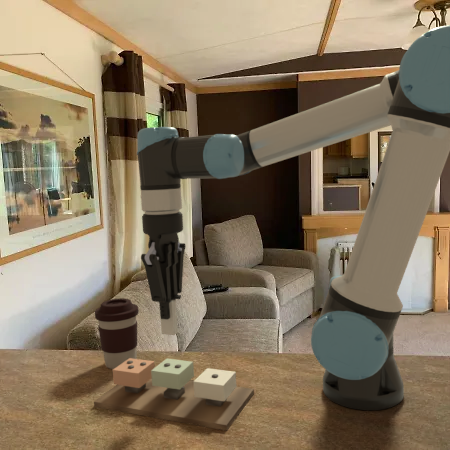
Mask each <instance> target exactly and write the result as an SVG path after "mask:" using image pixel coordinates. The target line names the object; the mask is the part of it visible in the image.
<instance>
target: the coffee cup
mask: <svg viewBox="0 0 450 450" xmlns="http://www.w3.org/2000/svg"><path fill="white" fill-rule="evenodd" d="M139 313H140V312H139V306H138V304H135V303H132V300H131V299H128V298H123V297H122V298H111V299H108V300H104V301H103V302H102V303H101V304H100V306H99V307H98V308H97V309H95V311H94V318H95V319H96V320H97V321H98V325H97V326H98V333H99V334H98V335H99V339H100V345H101V346H100V347H101V350H102V353H103V359H104V364H105V367H106V368H108V369H111V370H113V369H115V368H116V367H117V366H119V365H120V364H122V363H123V362H125V361H126V360H128V359H129V358H132V359H138V358H137V357H138V355H137V354H138V353H137V347H138V320H137V316H138V315H139Z"/></svg>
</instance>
